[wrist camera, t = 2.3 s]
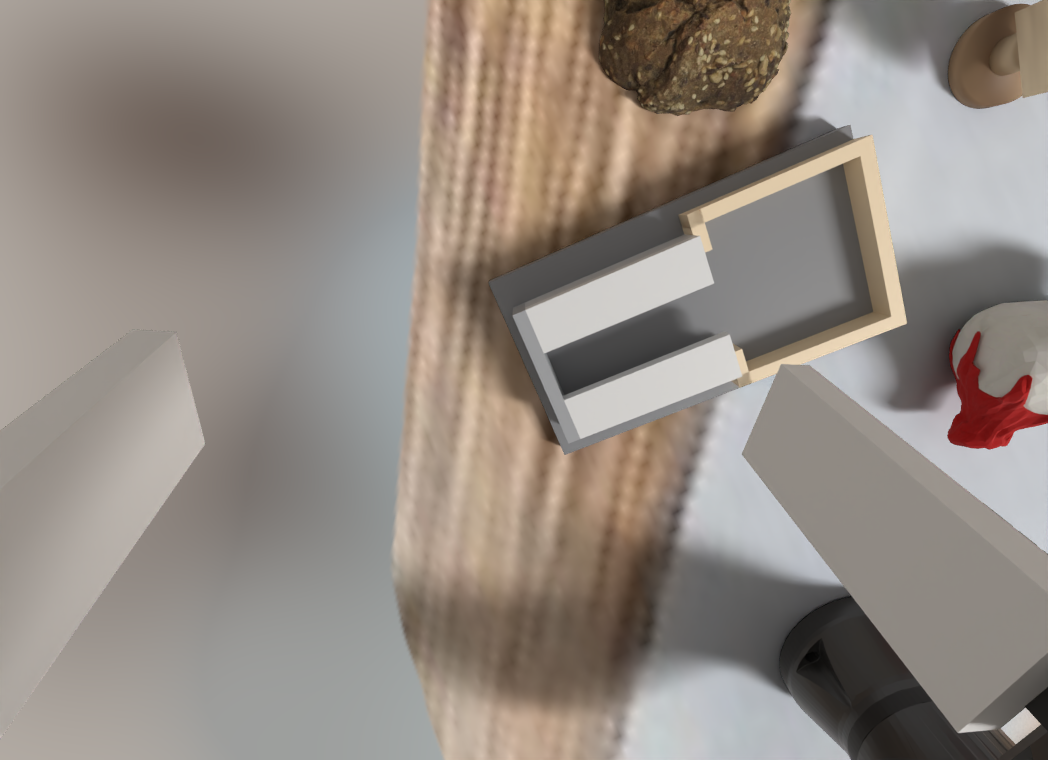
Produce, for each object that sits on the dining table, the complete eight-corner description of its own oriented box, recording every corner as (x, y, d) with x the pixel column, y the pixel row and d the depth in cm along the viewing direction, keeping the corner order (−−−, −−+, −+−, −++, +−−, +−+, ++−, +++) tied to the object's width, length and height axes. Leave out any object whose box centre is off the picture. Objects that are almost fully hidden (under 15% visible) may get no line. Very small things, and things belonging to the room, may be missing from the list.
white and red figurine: (1107, 281, 39) (983, 436, 45) (985, 241, 38) (874, 405, 44) (1258, 316, 31) (1081, 498, 37) (1108, 266, 30) (951, 463, 36)
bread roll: (781, -107, 32) (826, -163, 27) (778, 105, 36) (817, 87, 31) (586, -72, 33) (597, -121, 28) (604, 132, 36) (616, 119, 32)
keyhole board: (837, 128, 36) (884, 115, 31) (877, 325, 41) (923, 339, 36) (489, 280, 39) (485, 288, 35) (563, 447, 44) (568, 474, 39)
